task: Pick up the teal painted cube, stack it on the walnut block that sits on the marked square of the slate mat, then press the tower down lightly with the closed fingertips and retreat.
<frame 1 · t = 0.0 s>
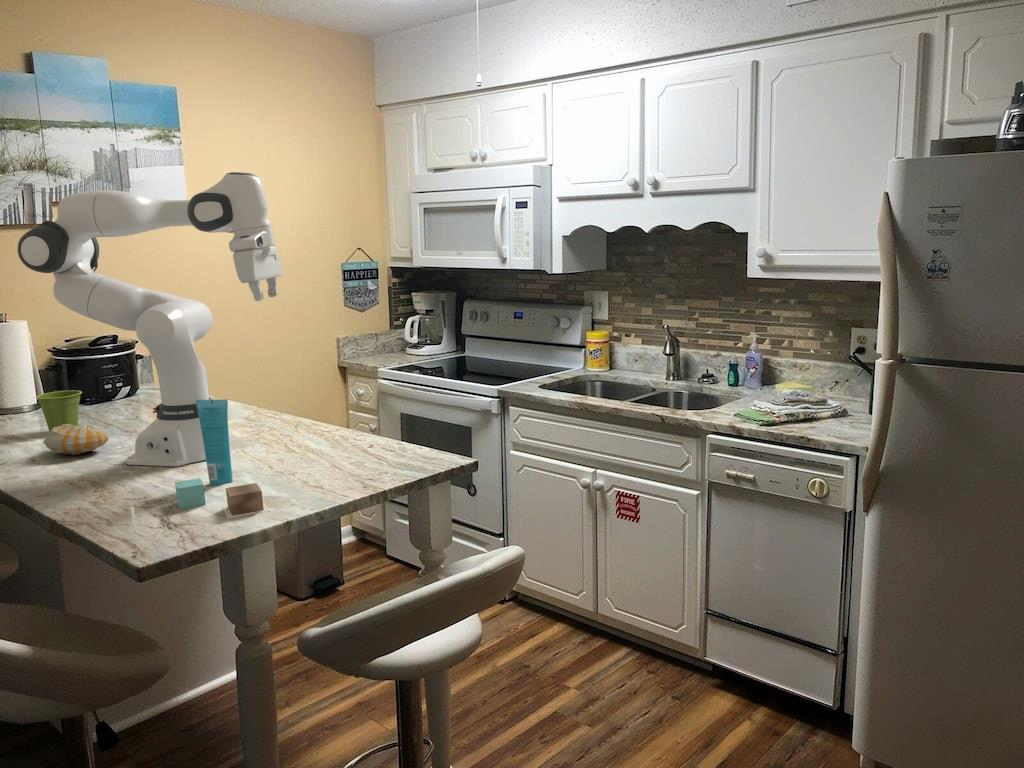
hand: (266, 298, 201), 39 cm above the kitchen island counter, tool pointing down, fingers open, 8 cm apart
walnut block: (245, 508, 167), point 1 cm above the kitchen island counter, touching slate mat
plant pot: (64, 432, 243), on the kitchen island counter
teal cube: (191, 506, 172), on the kitchen island counter
nautilus: (77, 452, 221), on the kitchen island counter
slate mat: (246, 511, 167), on the kitchen island counter
tube: (221, 484, 187), on the kitchen island counter
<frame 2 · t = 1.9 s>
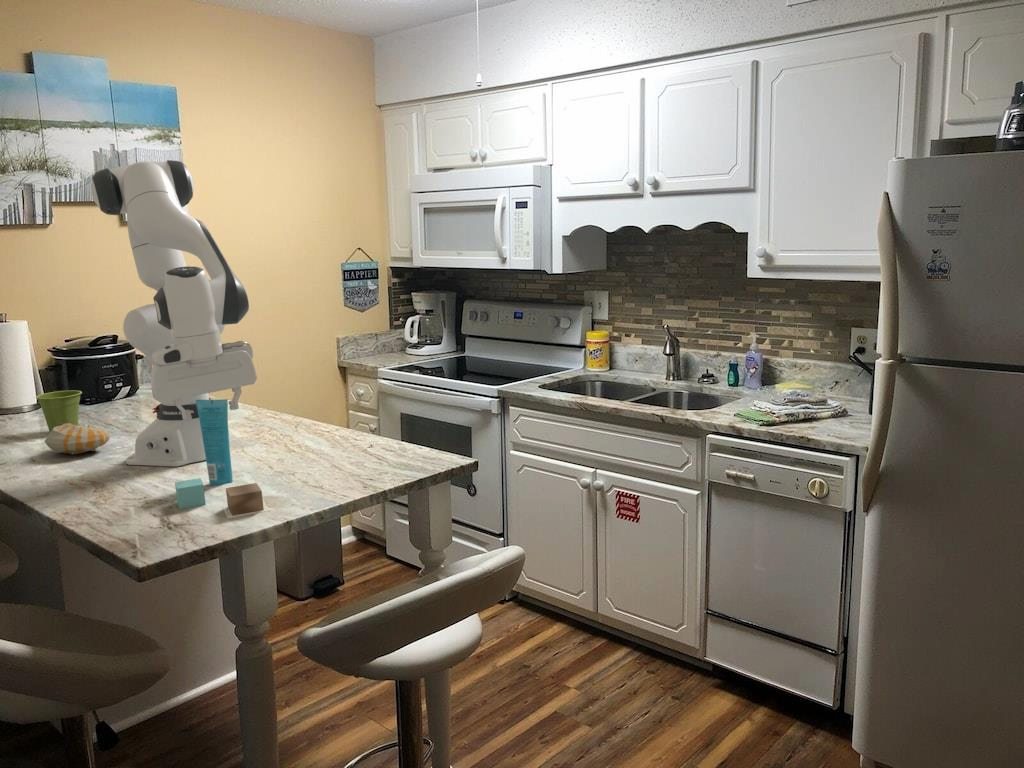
hand: (211, 414, 171), 19 cm above the kitchen island counter, tool pointing down, fingers open, 8 cm apart
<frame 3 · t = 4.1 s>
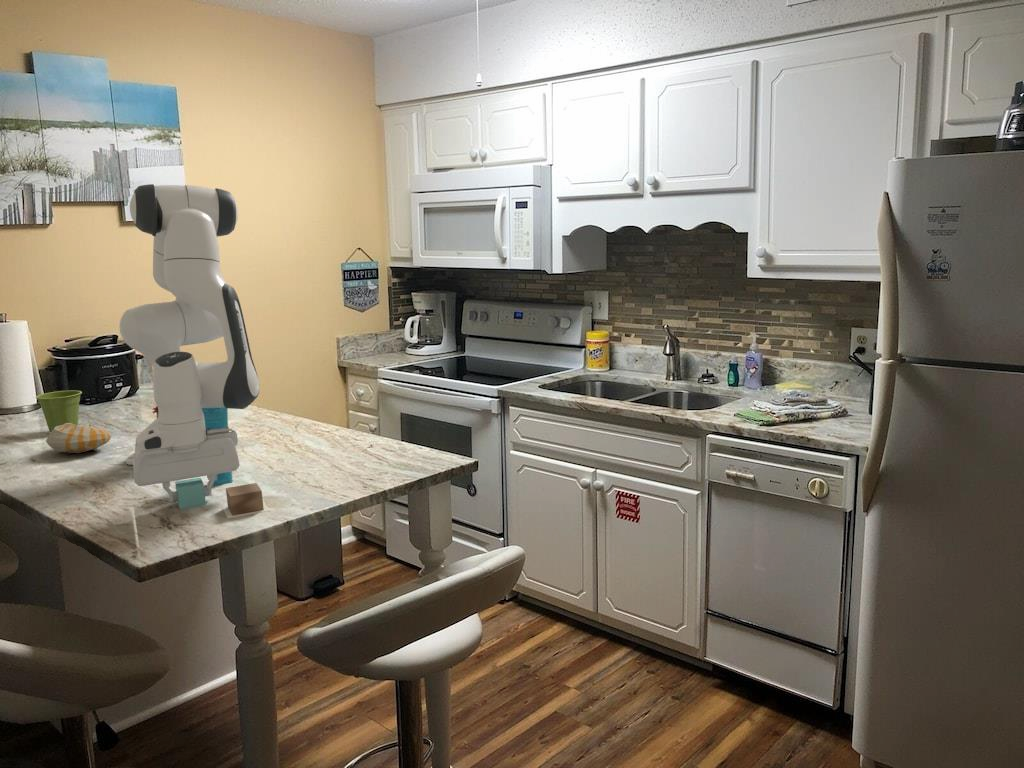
hand: (191, 498, 172), 2 cm above the kitchen island counter, tool pointing down, fingers closed on teal cube, 5 cm apart
teal cube: (192, 506, 172), on the kitchen island counter, touching gripper
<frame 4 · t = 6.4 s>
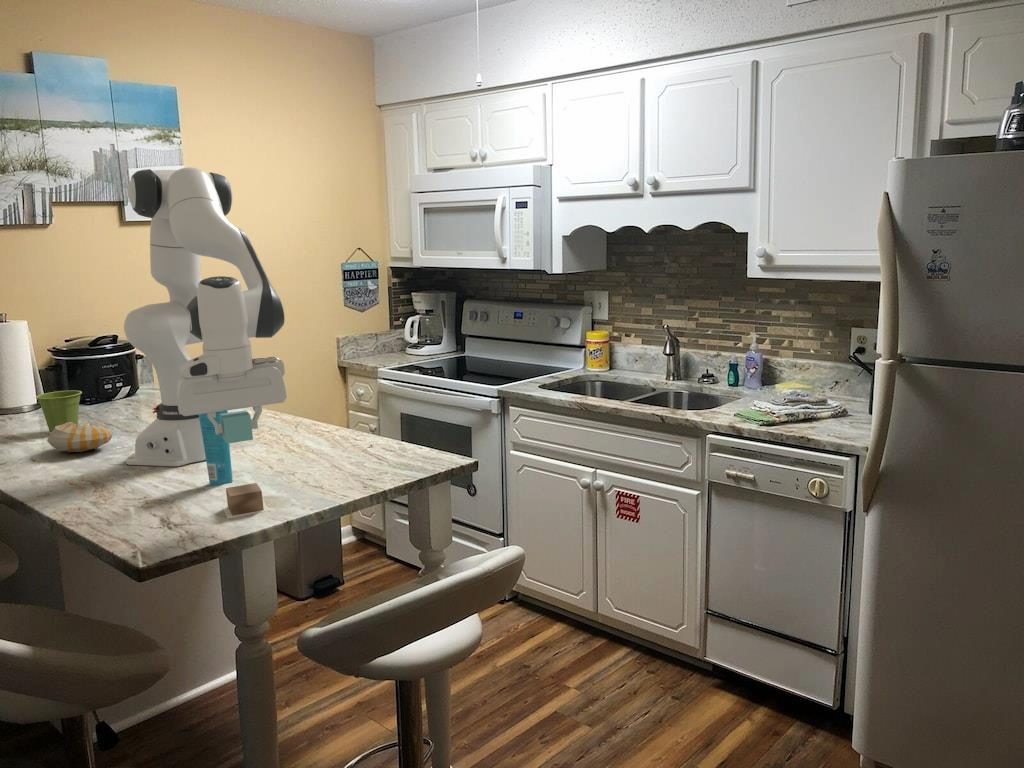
hand: (236, 431, 164), 17 cm above the kitchen island counter, tool pointing down, fingers closed on teal cube, 5 cm apart
teal cube: (237, 439, 164), point 15 cm above the kitchen island counter, touching gripper
when the fingers open (7 cm above the kitchen island counter, at t = 8.5 s): teal cube stays where it is, resting on walnut block.
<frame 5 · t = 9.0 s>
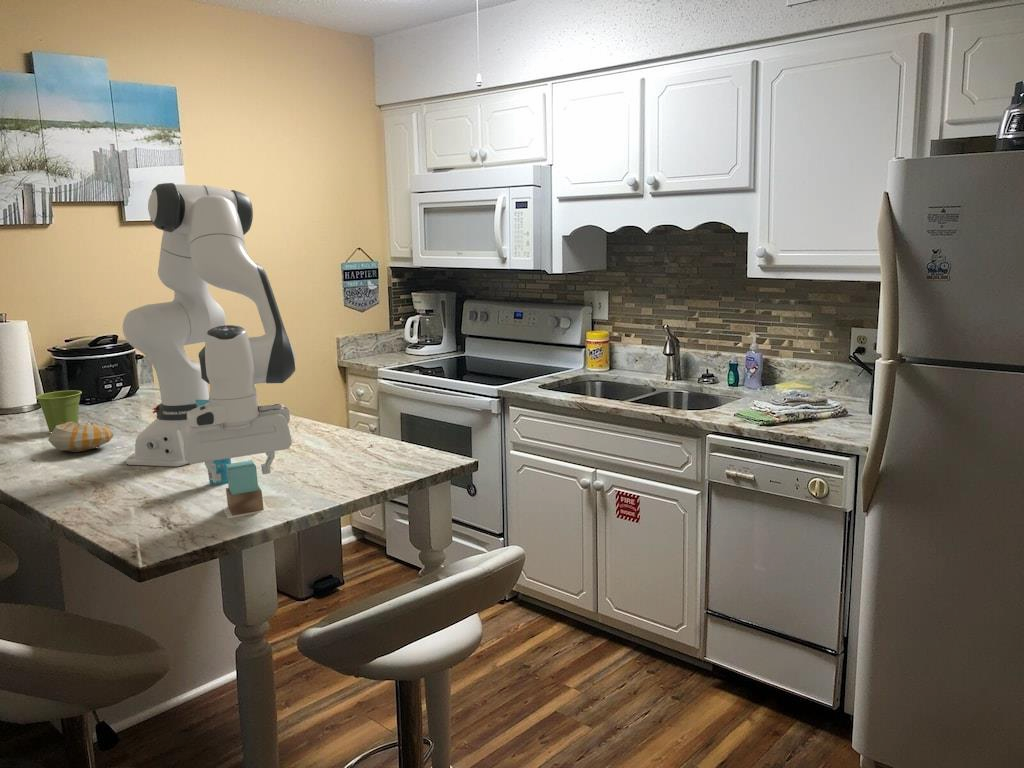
hand: (242, 477, 166), 7 cm above the kitchen island counter, tool pointing down, fingers open, 8 cm apart
walnut block: (245, 508, 167), point 1 cm above the kitchen island counter, touching slate mat, teal cube
teal cube: (243, 489, 166), point 5 cm above the kitchen island counter, touching walnut block
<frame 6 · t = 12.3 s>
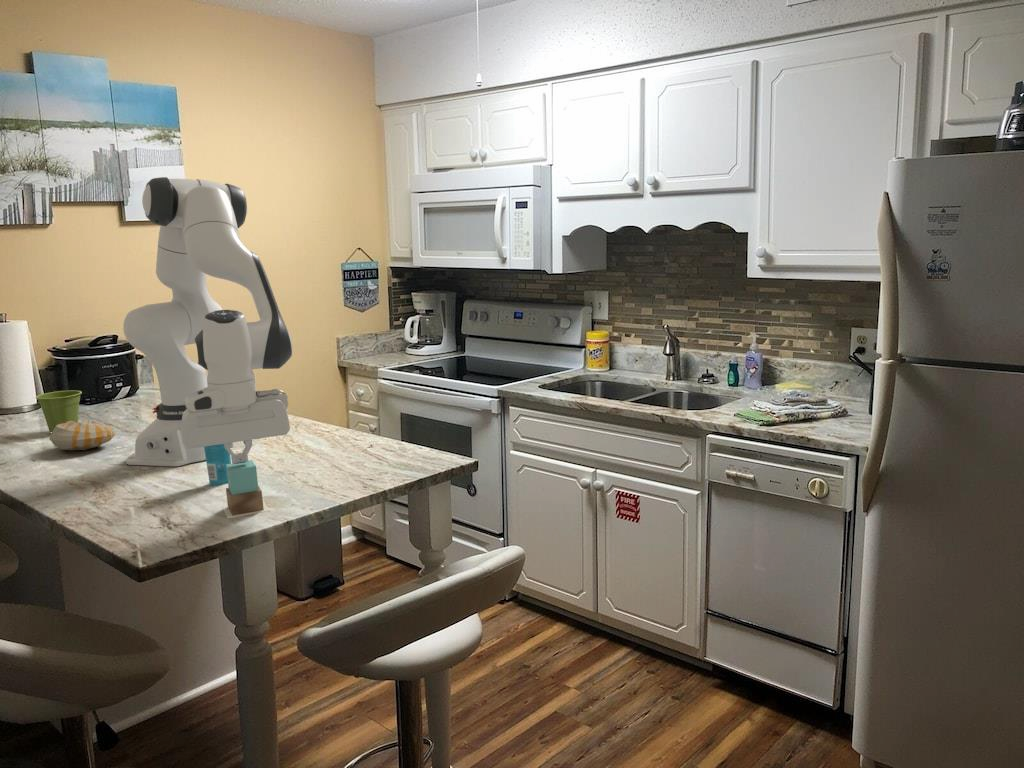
hand: (240, 462, 165), 10 cm above the kitchen island counter, tool pointing down, fingers closed
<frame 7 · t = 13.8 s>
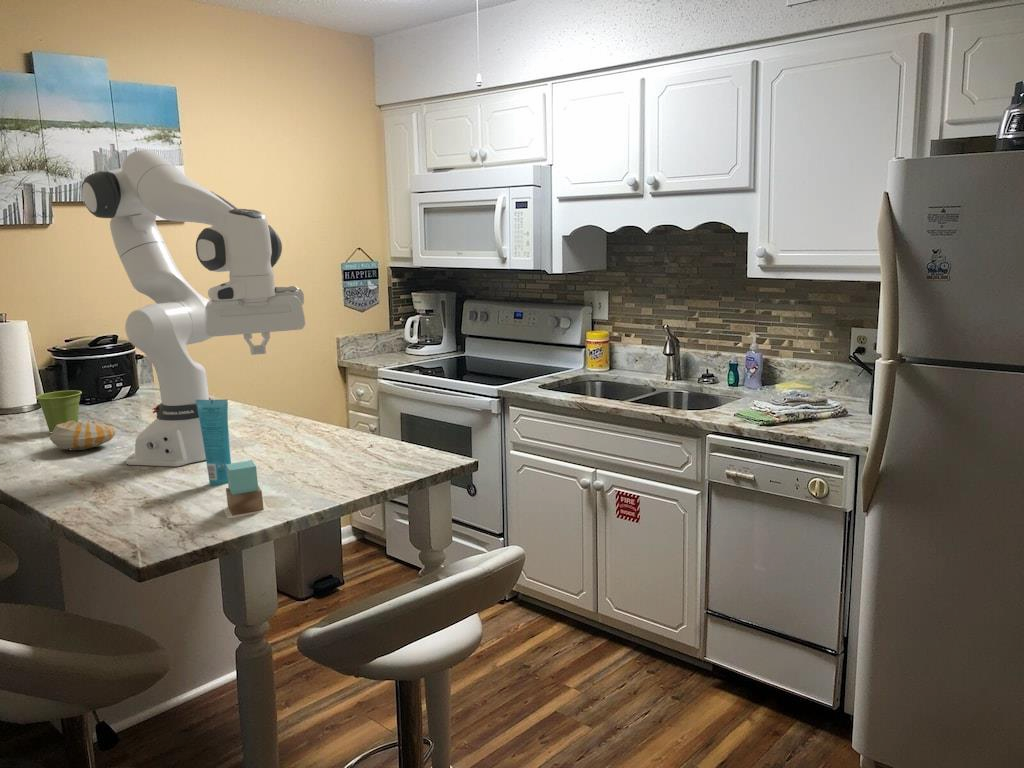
hand: (258, 354, 177), 29 cm above the kitchen island counter, tool pointing down, fingers closed
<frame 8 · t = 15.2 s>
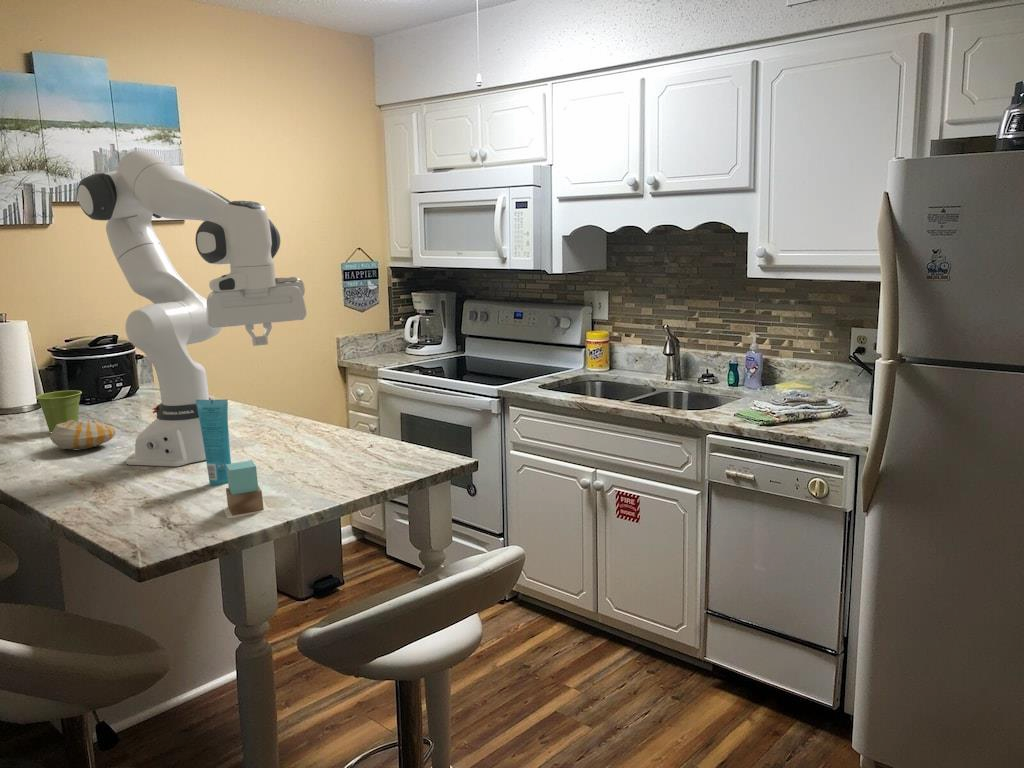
hand: (260, 344, 178), 31 cm above the kitchen island counter, tool pointing down, fingers closed
at the end: teal cube 0.0 cm off-centre on the walnut block, point 4.0 cm above the walnut block's base; teal cube tilted 0°; the gripper is holding nothing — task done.
